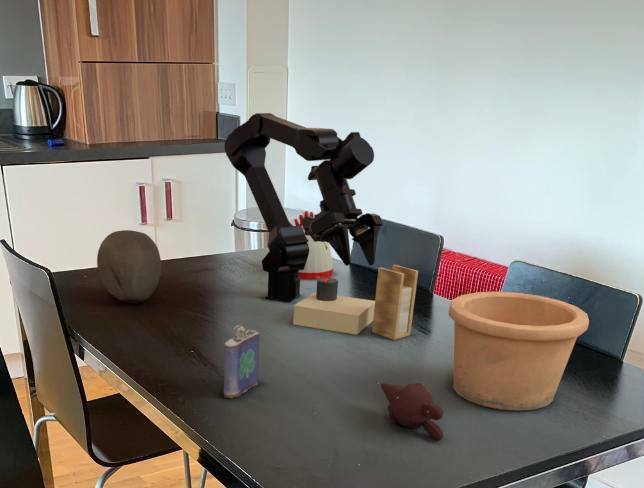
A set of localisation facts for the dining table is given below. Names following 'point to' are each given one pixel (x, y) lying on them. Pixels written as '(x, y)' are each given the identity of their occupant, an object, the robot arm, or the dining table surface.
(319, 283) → the dial
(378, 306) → the napkin holder
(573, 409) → the dining table surface
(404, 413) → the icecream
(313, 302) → the wooden block
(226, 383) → the flask
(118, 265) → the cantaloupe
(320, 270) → the kitchen timer
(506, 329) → the pottery
